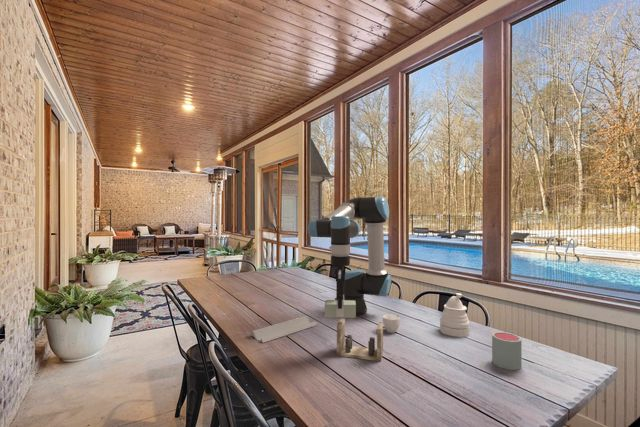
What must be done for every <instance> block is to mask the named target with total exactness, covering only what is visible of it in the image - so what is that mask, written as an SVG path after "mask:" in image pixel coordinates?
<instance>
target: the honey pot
mask: <svg viewBox="0 0 640 427" xmlns="http://www.w3.org/2000/svg"><path fill="white" fill-rule="evenodd" d="M455 295H456V296H455ZM455 295H452V296H451V297H450V298H448V300H447V302H446V303H445V304H444V305H443V308H444V309H443V311H442V312H441V317H440V320H439V321H440V322H439V331H440V332H441V333H442V334H444V335H447V336H450V337H453V338H454V337H455V338H466V337H469V336H470V334H471V333H470V332H471V326H470V325H471V324H470V323H471V322H470V320H469V318H468V314H467V312H466V311H467V310H468V308H467V306H466V305H463V302H462V301H461V300H460V299H461V298H462V297H463V293H460V292H459V293H457V292H456V294H455Z"/></svg>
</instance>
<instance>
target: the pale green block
mask: <svg viewBox="0 0 640 427" xmlns="http://www.w3.org/2000/svg"><path fill="white" fill-rule="evenodd" d="M324 301H325V302H324V318H340V319H341V318H344V319H346V318H347V319H348V318H349V319H356V316H357V315H356V302H355V301H351V300H344V317H337V311H336V300H335V299H325V300H324Z"/></svg>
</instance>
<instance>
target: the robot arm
mask: <svg viewBox="0 0 640 427" xmlns="http://www.w3.org/2000/svg"><path fill="white" fill-rule="evenodd" d="M389 217H390V208H389V203H388V201H387V199H386V198H385V197H383V196H367V197H366V196H365V197H364V196H362V197H358V196H357V197H354V198H350V199H348V200H346V201H344V202H341V203H340V204H339V206H338V208H336V209H334V210H333V211H332V212H330V213H329V214H327V215H325V216H323V218H321V219H312V220H310V221H309V222H308V225H307V231H308V234H309V236H310V237H313V238H314V237H315V238H330V246H329V249H330V254H331V255H330V265H331V266H333V267H337V268H335V271H334V275H335V282H336V292H335V293H336V295H335V296H336V297H335V298H334V300H336V311H337V317H336V318H339V317H344V300H351V301H355V302H356V316H362V315H366V314H367V312H368V307H367V304H366V300H365V295H368V296H376V297H387V296H388V295H389V293H390V291H391V287H392V286H391V284H392V276H391V275H390V274H389V273H388V270H387V269H386V267H385V265H386V264H385V241H384V240H385V238H384V226H385V224H386V223H387V220H388V219H389ZM353 219H356V220H357V219H358V220H359V219H360V220H362V219H363V223H364V225H366V234H367V254H368V257H367V260H368V269H367V270H366V271H365V270H364V269H352V270H346V269H345V268H344V267H347V266H350V265H351V256H350V254H351V243H350V242H351V241H350V240H351V239H354V238H356V237H357V236H358V235H359V234H360V233H361V226H360V224H359V223H358V221H356V220H353Z"/></svg>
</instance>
